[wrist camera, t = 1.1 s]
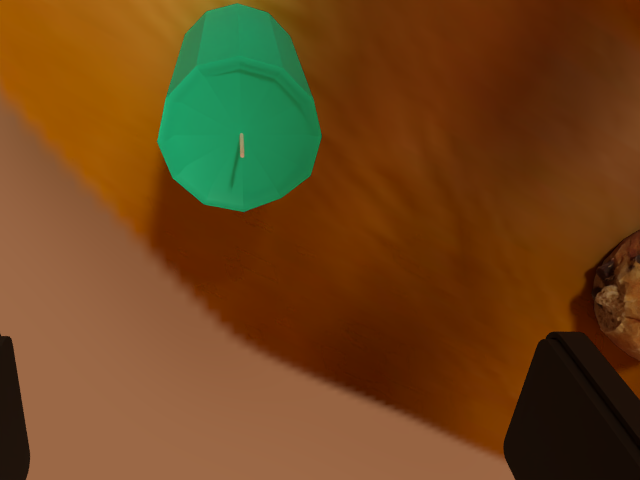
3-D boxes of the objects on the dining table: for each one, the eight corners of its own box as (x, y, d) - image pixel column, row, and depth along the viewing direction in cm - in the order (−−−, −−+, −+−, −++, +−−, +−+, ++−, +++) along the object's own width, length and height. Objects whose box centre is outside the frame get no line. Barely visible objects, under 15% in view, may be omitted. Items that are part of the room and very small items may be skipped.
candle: (183, 121, 33) (161, 233, 22) (174, 1, 30) (143, 67, 19) (296, 121, 33) (324, 229, 23) (298, 4, 30) (332, 68, 20)
